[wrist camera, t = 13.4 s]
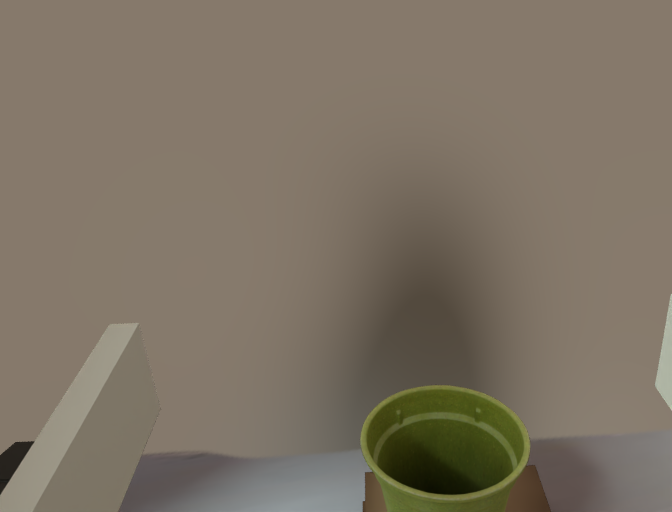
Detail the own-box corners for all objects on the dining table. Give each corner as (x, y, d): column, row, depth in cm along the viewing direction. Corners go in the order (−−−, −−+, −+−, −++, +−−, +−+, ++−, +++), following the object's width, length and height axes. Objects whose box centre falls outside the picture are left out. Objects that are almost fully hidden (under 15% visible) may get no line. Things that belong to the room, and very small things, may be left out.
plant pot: (450, 466, 46) (449, 366, 42) (557, 556, 38) (567, 444, 34) (341, 531, 41) (329, 425, 38) (438, 646, 34) (435, 529, 30)
